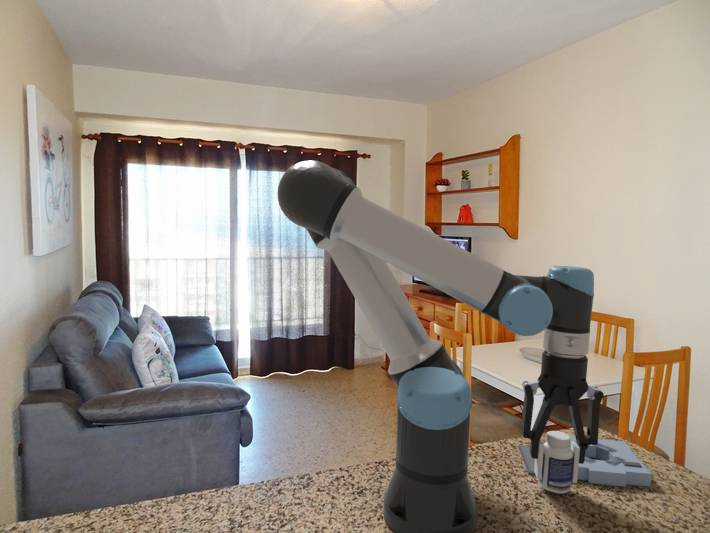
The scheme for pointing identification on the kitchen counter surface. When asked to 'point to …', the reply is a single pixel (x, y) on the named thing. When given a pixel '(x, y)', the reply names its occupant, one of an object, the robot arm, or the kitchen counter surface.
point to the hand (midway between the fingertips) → (555, 476)
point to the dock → (612, 465)
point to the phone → (527, 459)
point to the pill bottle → (557, 463)
